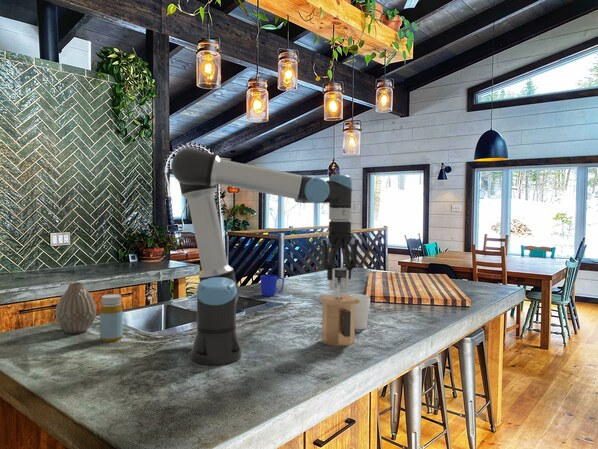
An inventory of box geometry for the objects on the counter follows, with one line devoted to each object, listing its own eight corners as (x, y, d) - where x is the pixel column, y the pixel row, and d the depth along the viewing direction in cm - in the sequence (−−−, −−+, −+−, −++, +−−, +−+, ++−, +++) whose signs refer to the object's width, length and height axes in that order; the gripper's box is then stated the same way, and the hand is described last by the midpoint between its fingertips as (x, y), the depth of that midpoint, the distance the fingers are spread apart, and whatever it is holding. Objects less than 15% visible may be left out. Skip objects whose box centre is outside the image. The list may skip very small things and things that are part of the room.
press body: (332, 349, 144) (333, 303, 143) (318, 338, 156) (319, 295, 155) (361, 347, 147) (362, 302, 146) (345, 335, 159) (346, 294, 159)
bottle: (117, 335, 157) (117, 293, 156) (126, 339, 152) (125, 296, 151) (97, 339, 152) (96, 295, 151) (105, 343, 147) (104, 299, 146)
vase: (50, 331, 161) (49, 283, 160) (87, 324, 170) (87, 278, 169) (63, 338, 152) (63, 288, 151) (102, 331, 161) (102, 283, 161)
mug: (283, 297, 223) (283, 277, 222) (259, 297, 223) (259, 277, 222) (284, 294, 231) (284, 275, 230) (261, 293, 231) (261, 274, 231)
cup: (368, 331, 165) (369, 299, 164) (344, 329, 167) (345, 298, 166) (369, 324, 174) (370, 294, 173) (346, 323, 176) (347, 293, 175)
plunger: (332, 332, 148) (333, 271, 147) (323, 326, 155) (324, 268, 154) (353, 330, 150) (354, 271, 149) (343, 324, 157) (344, 267, 156)
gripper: (319, 221, 145) (318, 292, 146) (368, 221, 150) (366, 289, 151) (312, 220, 152) (311, 288, 153) (358, 220, 157) (357, 285, 158)
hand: (338, 288), depth 152 cm, fingers closed on plunger, 4 cm apart
